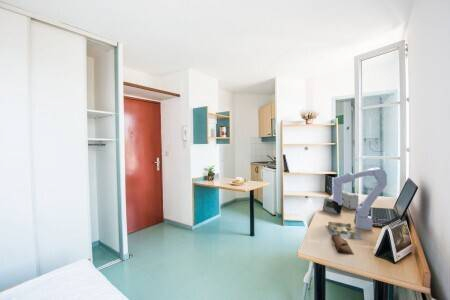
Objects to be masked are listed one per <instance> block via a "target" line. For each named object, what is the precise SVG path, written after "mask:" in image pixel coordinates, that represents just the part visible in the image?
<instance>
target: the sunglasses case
mask: <svg viewBox="0 0 450 300" xmlns="http://www.w3.org/2000/svg"><path fill="white" fill-rule="evenodd" d="M331 240H332V242H333V245H334V246H335V248H336V251H337V253H338V254H343V255H353V256H354V252H353V250H352V248H351V247H350V245H349V243H348V241H347V240H346V239H345V238H340V237H339V236H337V235H332V237H331Z"/></svg>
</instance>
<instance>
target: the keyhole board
mask: <svg viewBox="0 0 450 300" xmlns="http://www.w3.org/2000/svg"><path fill="white" fill-rule="evenodd" d="M325 228H326V230H327V231H328V234H329V235H330V237H331V238H332V235H337V236H339V237H340V238H342V239H348V240H349V239H350V240H359V241H361V240H362V241H363V240H364V239H363V237H361V235H360V234H359V233H358V232H357V231H356V229H355V228H354V227H352V229H353V230H354V231H352V230H347V231H348V233H341V232H342V231H341V230H339V229H334V232H332V231H331V230H330V228H329V226H328V225H327V224H325Z"/></svg>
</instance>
